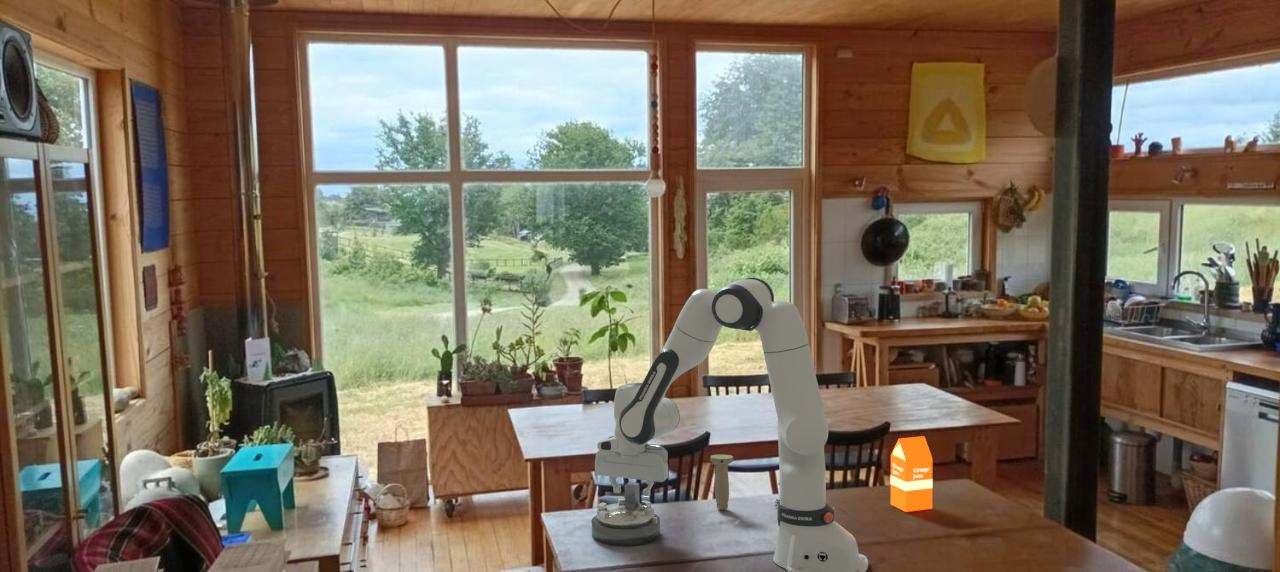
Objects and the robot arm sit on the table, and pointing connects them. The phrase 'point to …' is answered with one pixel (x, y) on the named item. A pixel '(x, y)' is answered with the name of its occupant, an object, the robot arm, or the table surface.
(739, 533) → the table surface
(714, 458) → the handle
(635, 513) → the round clock
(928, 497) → the orange juice
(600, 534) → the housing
